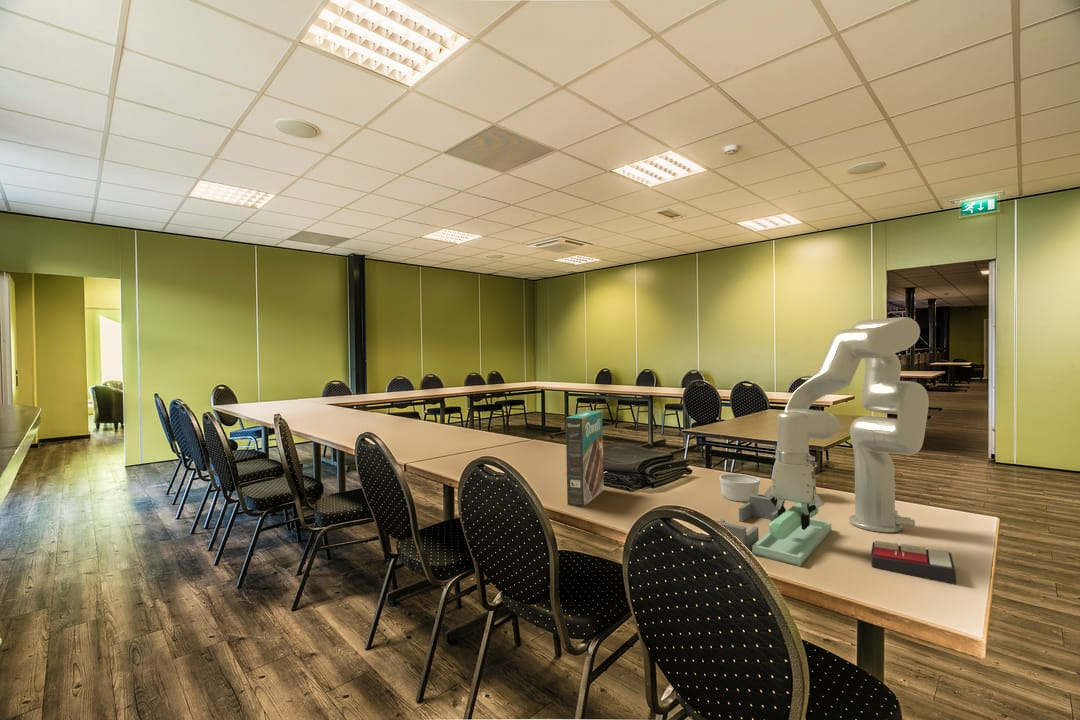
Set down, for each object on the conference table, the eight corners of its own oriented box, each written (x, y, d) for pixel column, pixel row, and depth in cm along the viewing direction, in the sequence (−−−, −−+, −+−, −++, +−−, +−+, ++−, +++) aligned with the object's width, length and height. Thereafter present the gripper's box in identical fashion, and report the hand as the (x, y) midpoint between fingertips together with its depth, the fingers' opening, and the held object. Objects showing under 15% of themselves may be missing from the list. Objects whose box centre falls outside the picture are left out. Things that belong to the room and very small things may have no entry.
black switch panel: (872, 538, 120) (950, 548, 111) (873, 555, 120) (952, 567, 111) (870, 553, 112) (954, 565, 103) (871, 571, 111) (956, 586, 102)
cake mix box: (583, 506, 161) (582, 418, 161) (567, 504, 164) (565, 417, 163) (603, 489, 181) (602, 411, 181) (588, 488, 183) (587, 410, 183)
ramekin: (765, 496, 169) (764, 477, 169) (753, 505, 159) (753, 484, 159) (727, 490, 177) (727, 471, 177) (713, 498, 167) (713, 478, 167)
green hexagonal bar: (782, 517, 117) (813, 494, 135) (760, 521, 121) (792, 498, 139) (793, 542, 116) (822, 515, 133) (769, 545, 120) (801, 518, 137)
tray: (831, 530, 135) (831, 522, 135) (800, 566, 112) (800, 557, 112) (789, 521, 143) (789, 514, 143) (752, 554, 120) (752, 545, 120)
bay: (784, 520, 144) (784, 500, 144) (745, 553, 121) (745, 529, 121) (750, 513, 151) (750, 494, 151) (707, 543, 128) (707, 521, 127)
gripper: (832, 460, 124) (833, 529, 124) (764, 452, 136) (765, 515, 136) (825, 465, 119) (826, 537, 119) (755, 456, 131) (755, 522, 131)
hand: (793, 525), depth 127 cm, fingers closed on green hexagonal bar, 4 cm apart
